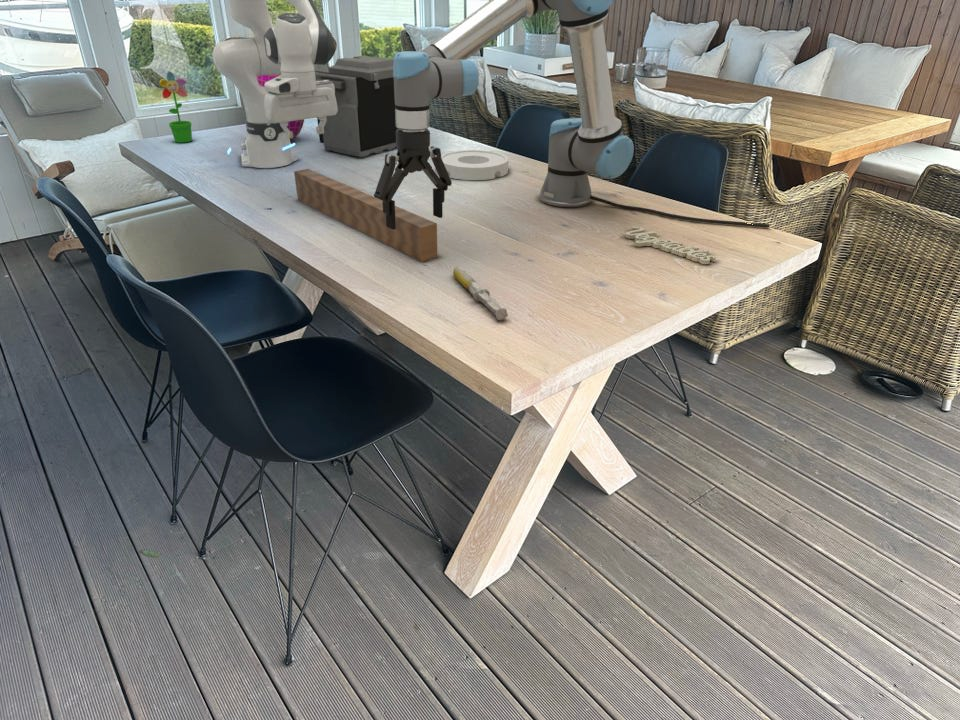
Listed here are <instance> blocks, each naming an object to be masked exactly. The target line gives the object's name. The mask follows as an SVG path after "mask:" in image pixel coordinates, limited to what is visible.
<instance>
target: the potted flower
mask: <svg viewBox="0 0 960 720" xmlns="http://www.w3.org/2000/svg"><path fill="white" fill-rule="evenodd" d="M165 77H166V79H164V78H161V79H159V84H158V85H159V86H160V87H161V88H164V89H163V90H162V93H161V95H162V98H163V99H169V98H170V97H171V95H172V96H173V100H174V105H175V108H170V109H169V110H168V112H169V113H171V114H173V115H177V119H178V120H176V121H175V120H174V121H171V122H169V123H168V125H169V128H170V130H171V133H172V136H173V139H174V142H175V143H180V144H181V143H189V142H192V141H193V133H192V122H191V121H189V120H181V116H180V111H179V109H180V108H181V107H182V106H183V103H181V102H179V103H178V102H177V96H176V94H177V95H178V96H179V97H183V98H184V97H188V93H187V91H186V89H184V88H183V87H184V86H185V85H186V84H187V83H188V81H187V80H186V79H185V78H183V77H182V78H181V77H180V78H176V76H175V74H174V73H173V71H170V70H168V71H167V72H166V76H165Z"/></svg>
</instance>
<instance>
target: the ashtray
mask: <svg viewBox="0 0 960 720" xmlns="http://www.w3.org/2000/svg"><path fill="white" fill-rule="evenodd" d="M441 158H442V161H443V163H444V165H445V168H446V170H447V172H448V175H449V177H450V179H456V180H461V181H487V180H492V179H493V180H494V179H495V178H496V177H497V178H498V177H499V178H501V177H504V176H505V175H507V174H508V172H509V157H508V156H507V155H505V154H503V153H501V152H497V151H492V150H484V149H462V150H454V151H449V152H445V153H442V154H441Z"/></svg>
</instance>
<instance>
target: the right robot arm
mask: <svg viewBox="0 0 960 720" xmlns="http://www.w3.org/2000/svg"><path fill="white" fill-rule="evenodd" d="M613 1H614V0H488V1H487V2H486V3H485V4H483V5H482V6H480V7H479V8H478V9H476V10H475V11H474V12H472V13H471V14H470V15H468V16H467V17H465V18H464V19H463V20H461V21H459V23H457V24H456V25H455V26H453V27H452V28H451V29H449V30H448V31H447V32H445V33H444V34H442V35H441V36H440V37H438V38H437V39H435V41H433V42H431V43H430V44H429V45H427V46H425V47H424V48H423V49H422V50H420V51H409V50H407V51H406V50H405V51H399V52H396V53H395V55H394V56H393V60H394V63H393V78H394V96H395V122H396V127H397V128H398V129H397V130H396V148H397V152H396V154H389V153H386V154H385V155H384V165H383V168H382V171H381V174H380V176H379V179H378V182H377V185H376V188H375V191H374V193H373V197H375V198H378V199H380V200H382V202H383V213H384V214H385V215H386V227H388V228H391V229H393V230H394V229H396V223H395V206H396V203H395V200H393V199H394V196H395V195H396V193H397V192H398V189H399V188H400V186H401V184H402V183H403V181H404V180H405V177H408V175H409V173H410V174H413V173H416V172H423V173H424V174H425V175H426V177H427V178H428V179H429V180H430V182H431V183H432V184H433V186H435V187H434V188H432V216H434V217H435V218H439V219H442V218H443V217H444V216H443V213H444V211H443V204H444V203H445V200H446V199H445V192H446V191H448V189H449V187H450V186H452V184H453V183H452V182H453V181H452V178H450V176H449V175H448V172H447V170H446V168H445V165H444V163H443V161H442V158H441V155H442V152H441V149H440V148H439V147H436V146H434V145H431V131H430V130H429V128H430V127H431V118H430V117H431V115H430V114H431V113H430V109H431V107H430V103H431V102H430V100H433V99H434V100H435V99H443V98H456V97H457V98H459V97H460V98H462V97H466V96H472V95H474V93H475V92H476V91H477V90H478V87H479V83H480V82H479V81H480V79H479V78H480V74H479V69H478V67H477V65H476V64H475V62H474V61H473V60H471V59H469V58H471V57H472V56H474V55H475V54H476V53H478V52H479V51H480V50H481V49H483V48H484V47H486V46H487V45H488V44H490V43H492V41H493V40H495V39H496V38H498V37H499V36H500V35H502V34H503V33H504V32H505V31H507V30H509V29H510V28H511V27H512V26H514V25H515V24H517V23H519V21H521V20H522V19H525V20H529V19H530V18H532V17H533V16H535V15H536V14H538V13H542V12H544V11H548V10H549V11H551V10H552V11H557V16H558V21H559V26H560V27H561V28H562V29H564V30H565V31H566V33H567V37H568V38H567V39H568V43H569V49H570V56H571V62H572V67H573V68H572V69H573V75H574V81H575V87H576V93H577V100H578V105H579V107H578V108H579V113H580V117H573V118H571V117H570V118H562V119H556V120H554V121H553V122H552V123H551V124H550V129H549V130H550V131H549V134H548V137H549V138H548V156H547V158H548V159H547V173H546V176H545V178H544V181H543V184H542V187H541V189H540V193H539V200H540V202H542V203H543V204H546V205H549V206H553V207H558V208H559V207H560V208H580V207H584V206H588V205H589V204H591V203H592V201H596V202H600V203H603V204H606V205H609V206H611V207H615V208H619V209H625V210H632V211H639V212H644V213H645V212H646V213H650V214H654V215H659V216H663V217H667V218H672V219H678V220H682V221H683V220H684V221H691V222H697V223H698V222H699V223H707V224H715V225H716V224H718V225H728V226H729V225H730V226H743V227H755V228H766V229H768V228H769V229H770V225H771V224H769V223H761V222H759V223H757V222H750V223H751V224H747V223H749V222H747V221H734V220H721V219H710V218H700V217H693V216H687V215H678V214H675V213H668V212H665V211H661V210H657V209H652V208H646V207H641V206H633V205H625V204H620V203H616V202H613V201H610V200H607V199H604V198H601V197H597V196H593V193H592V188H591V184H590V179H589V174H591V175H593V176H597V177H598V178H603V179H604V178H605V179H607V180H608V179H609V180H612V179H616V178H618V177H620V176H621V175H623V174H624V173H625V172H626V170H627V169H628V168H629V166H630V164H631V163H632V160H633V158H634V154H635V153H634V152H635V146H634V142H633V140H632V138H630V137H629V136H628V135H625V134H624V129H623V123H622V121H621V119H619V118H618V117H617V116H616V114H615V107H614V99H613V90H612V84H611V75H610V68H609V60H608V52H607V45H606V37H605V35H606V34H605V27H604V21H605V20H606V19H607V17H608V16H609V8H610V6H611V4H613ZM429 159H431V162H432V164H433V166H434V168H435V169H433V166H432V165H431V163H429ZM435 171H436V172H435ZM745 222H746V223H745ZM752 224H753V225H752Z"/></svg>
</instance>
